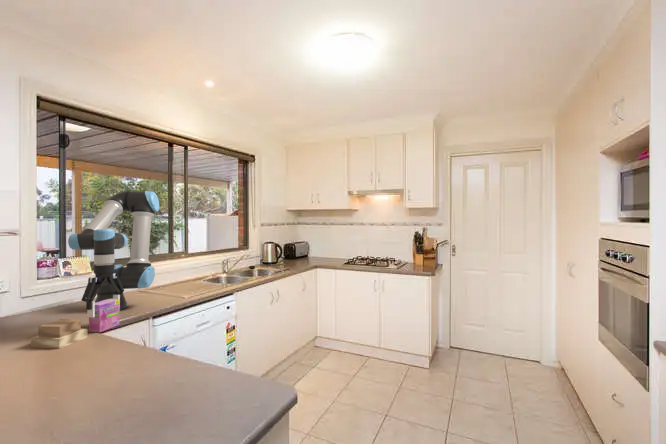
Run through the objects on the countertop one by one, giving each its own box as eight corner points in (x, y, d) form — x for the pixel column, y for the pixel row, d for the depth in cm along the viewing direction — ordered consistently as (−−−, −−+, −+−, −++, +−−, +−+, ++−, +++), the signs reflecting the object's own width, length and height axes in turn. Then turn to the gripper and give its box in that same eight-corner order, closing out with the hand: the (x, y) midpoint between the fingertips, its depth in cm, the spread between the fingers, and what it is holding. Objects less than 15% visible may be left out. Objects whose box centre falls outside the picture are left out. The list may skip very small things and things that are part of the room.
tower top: (60, 329, 135) (60, 319, 135) (80, 329, 134) (80, 319, 134) (38, 336, 126) (38, 326, 126) (59, 337, 125) (59, 327, 125)
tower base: (61, 337, 137) (61, 327, 137) (87, 338, 136) (87, 328, 136) (31, 348, 125) (31, 337, 125) (59, 350, 124) (59, 339, 124)
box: (99, 332, 141) (99, 304, 141) (88, 331, 142) (88, 304, 142) (120, 325, 151) (120, 298, 151) (109, 324, 152) (109, 298, 152)
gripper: (118, 261, 159) (118, 305, 159) (70, 267, 135) (70, 320, 134) (132, 261, 158) (132, 306, 158) (87, 267, 134) (87, 321, 133)
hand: (104, 313), depth 146 cm, fingers open, 13 cm apart
